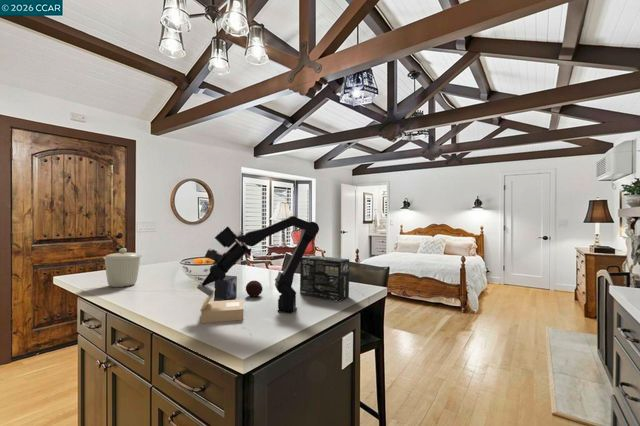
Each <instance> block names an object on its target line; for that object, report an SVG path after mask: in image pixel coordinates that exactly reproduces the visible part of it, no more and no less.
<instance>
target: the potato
mask: <svg viewBox="0 0 640 426" xmlns="http://www.w3.org/2000/svg"><path fill="white" fill-rule="evenodd" d="M245 291H246V293H247V295H248V296H250V297H258V296H260V295H261V294H262V292H263V286H262V284H261V282H260V281H258V280H250V281H249V282H247V284H246V285H245Z"/></svg>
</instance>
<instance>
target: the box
mask: <svg viewBox="0 0 640 426" xmlns="http://www.w3.org/2000/svg"><path fill="white" fill-rule="evenodd" d="M299 264H300V269H299V270H300V272H299V274H300V276H299V281H300V282H299V295H302V296H307V297H314V298H320V299H325V300H329V299H331V300H330V301H334V300H337V301H336V302H341V301H343V300H345V299H348V298H349V296H350V293H349V291H350V259H349V258H341V257H331V256H320V255H312V254H311V255H306V256H303V257H302V259H301V261H300V263H299ZM342 299H343V300H342ZM340 300H341V301H340Z"/></svg>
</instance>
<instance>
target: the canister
mask: <svg viewBox="0 0 640 426" xmlns="http://www.w3.org/2000/svg"><path fill="white" fill-rule="evenodd" d="M127 249H128V248H125V247H122V248H120V249H119V250H118V252H115V253H110V254H106V255H105V256H103V257H102V258H103V259H104V266H105V274H106V282H107V284H108V286H109V287H110V286H111V288H125V287H124V286H127V287H131V286H134V285H135V284H136V283H137V281H138V275H139V271H140V262H141V257H142V254H140V253H138V252H137V253H136V252H127ZM133 284H134V285H133ZM130 285H131V286H130Z"/></svg>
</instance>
